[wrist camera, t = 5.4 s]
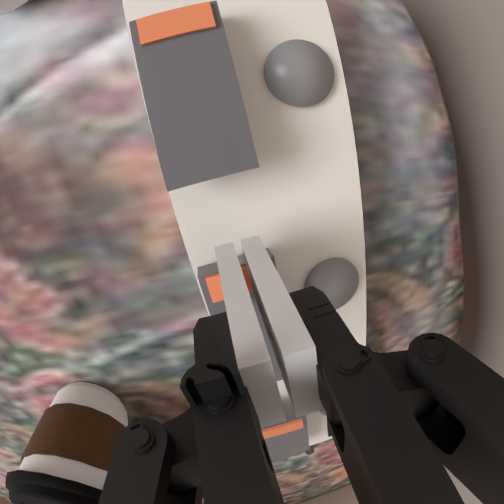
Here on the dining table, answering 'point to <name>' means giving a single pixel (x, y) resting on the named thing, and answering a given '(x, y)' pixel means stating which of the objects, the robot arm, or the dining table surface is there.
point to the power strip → (284, 160)
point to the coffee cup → (70, 448)
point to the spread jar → (11, 5)
